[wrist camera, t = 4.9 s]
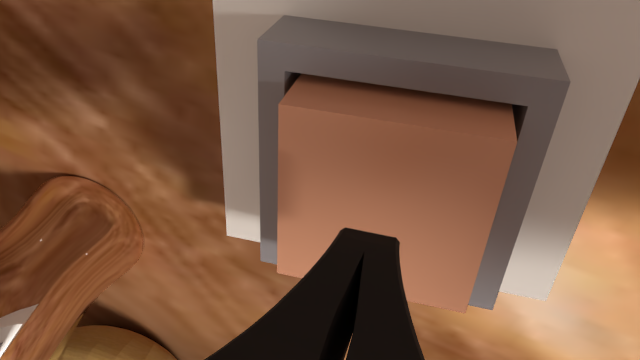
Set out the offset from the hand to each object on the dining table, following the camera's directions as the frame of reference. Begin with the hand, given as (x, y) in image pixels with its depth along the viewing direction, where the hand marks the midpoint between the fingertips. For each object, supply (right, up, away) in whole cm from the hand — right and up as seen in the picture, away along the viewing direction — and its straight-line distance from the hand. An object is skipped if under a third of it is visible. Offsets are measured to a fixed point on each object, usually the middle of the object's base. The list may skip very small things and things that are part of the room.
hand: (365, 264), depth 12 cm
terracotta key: (+2, +3, +5) cm, 6 cm away
